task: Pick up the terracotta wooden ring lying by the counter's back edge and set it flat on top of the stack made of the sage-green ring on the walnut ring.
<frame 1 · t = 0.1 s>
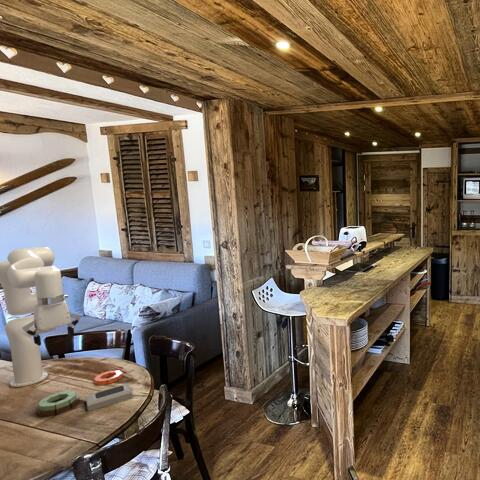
hand: (55, 340, 144), 31 cm above the table, tool pointing down, fingers open, 9 cm apart
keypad: (109, 400, 156), on the table
green ring: (58, 402, 150), point 2 cm above the table, touching walnut ring
walnut ring: (58, 407, 150), on the table, touching green ring
terracotta ring: (108, 379, 173), on the table
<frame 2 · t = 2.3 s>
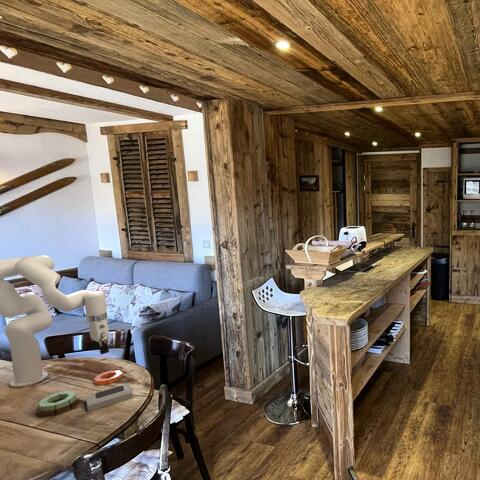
hand: (100, 350, 171), 15 cm above the table, tool pointing down, fingers open, 9 cm apart
nothing on the table moved.
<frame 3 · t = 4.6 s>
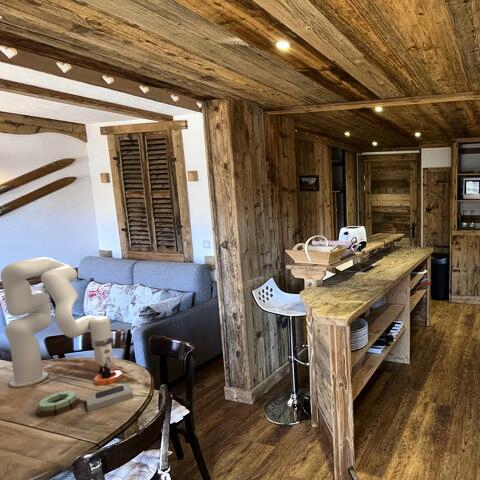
hand: (105, 376, 175), 0 cm above the table, tool pointing down, fingers closed on terracotta ring, 2 cm apart
terracotta ring: (108, 379, 173), on the table, touching gripper
everything else where it was.
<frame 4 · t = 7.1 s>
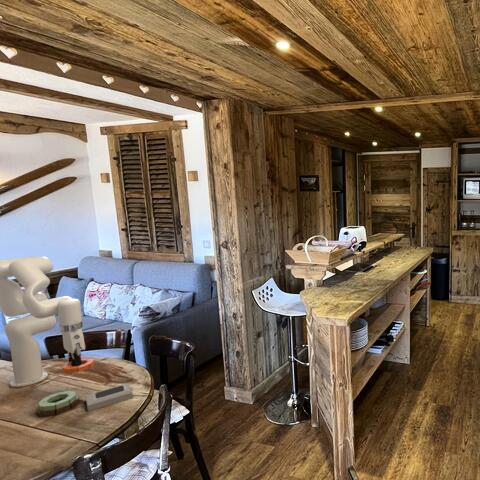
hand: (75, 364, 160), 13 cm above the table, tool pointing down, fingers closed on terracotta ring, 2 cm apart
terracotta ring: (79, 367, 158), point 13 cm above the table, touching gripper
everything else where it was.
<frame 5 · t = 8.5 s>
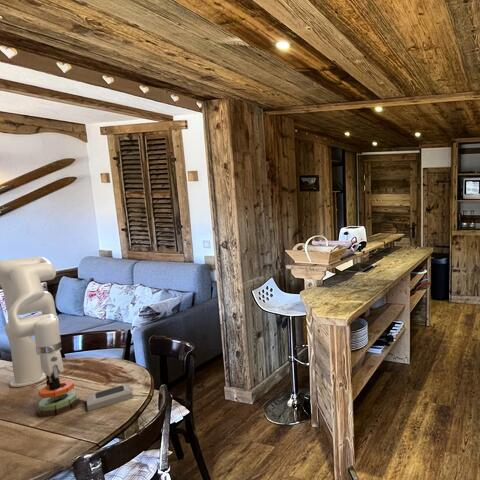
hand: (53, 388, 151), 8 cm above the table, tool pointing down, fingers closed on terracotta ring, 2 cm apart
terracotta ring: (57, 391, 149), point 7 cm above the table, touching gripper
everything else where it was.
when the fingers open (4 cm above the table, at t = 9.6 s): terracotta ring stays where it is, resting on green ring.
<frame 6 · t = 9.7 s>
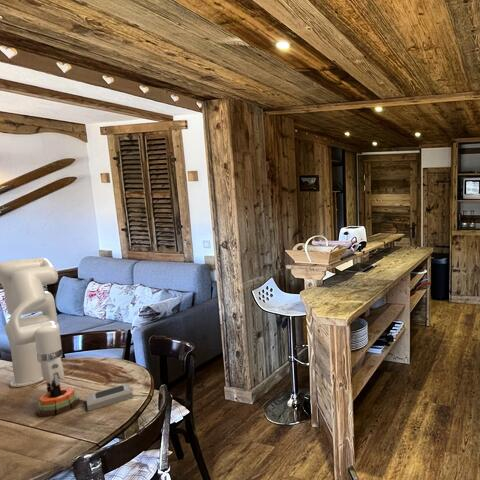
hand: (54, 395, 152), 4 cm above the table, tool pointing down, fingers open, 3 cm apart
green ring: (58, 402, 150), point 2 cm above the table, touching gripper, terracotta ring, walnut ring
terracotta ring: (57, 398, 150), point 4 cm above the table, touching green ring
everything else where it was.
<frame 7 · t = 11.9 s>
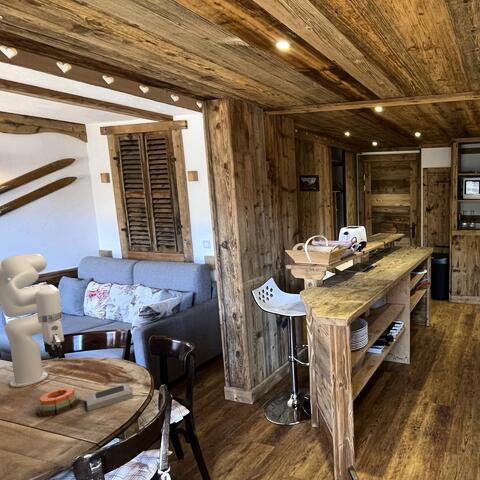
hand: (53, 354, 155), 20 cm above the table, tool pointing down, fingers open, 9 cm apart
green ring: (58, 402, 150), point 2 cm above the table, touching terracotta ring, walnut ring
everything else where it was.
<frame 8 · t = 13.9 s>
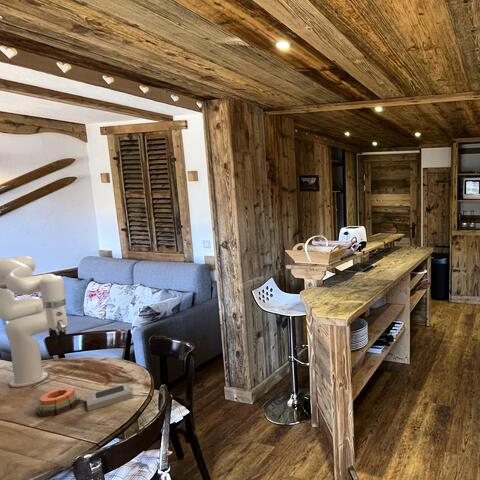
hand: (58, 339, 160), 24 cm above the table, tool pointing down, fingers open, 9 cm apart
nothing on the table moved.
at the end: terracotta ring 0.0 cm from the walnut ring (horizontally); terracotta ring point 4.2 cm above the table; terracotta ring tilted 0° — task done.
